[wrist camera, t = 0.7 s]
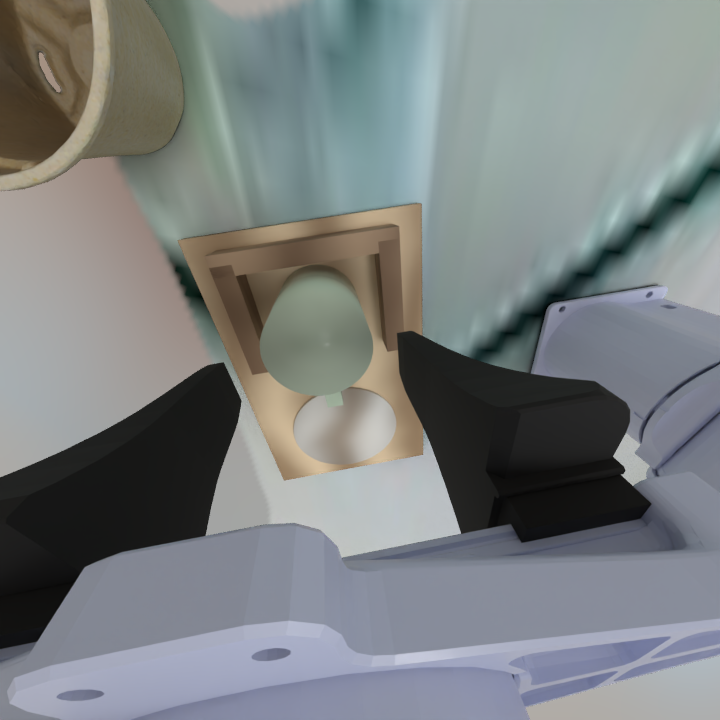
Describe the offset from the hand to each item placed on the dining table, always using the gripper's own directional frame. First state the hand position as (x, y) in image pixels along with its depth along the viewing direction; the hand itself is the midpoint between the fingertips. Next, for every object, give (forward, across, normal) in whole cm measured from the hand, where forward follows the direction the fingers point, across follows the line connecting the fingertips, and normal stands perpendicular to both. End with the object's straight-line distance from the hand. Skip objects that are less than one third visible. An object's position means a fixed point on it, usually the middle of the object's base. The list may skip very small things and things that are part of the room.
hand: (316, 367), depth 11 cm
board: (+9, 0, +6) cm, 10 cm away
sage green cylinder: (+8, 0, +1) cm, 8 cm away
